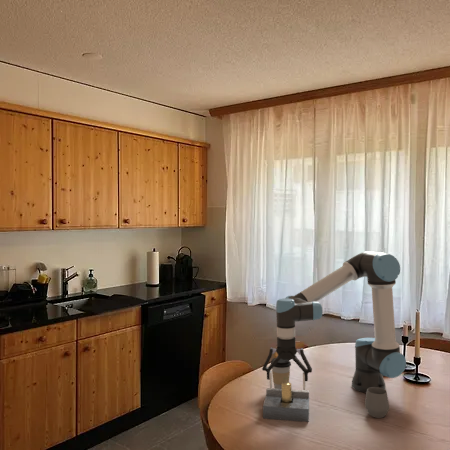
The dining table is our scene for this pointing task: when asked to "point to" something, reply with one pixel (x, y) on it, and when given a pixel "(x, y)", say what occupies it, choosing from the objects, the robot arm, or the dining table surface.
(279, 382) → the coffee cup
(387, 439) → the dining table surface
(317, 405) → the dining table surface
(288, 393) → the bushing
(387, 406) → the cup
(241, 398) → the dining table surface
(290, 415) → the block
